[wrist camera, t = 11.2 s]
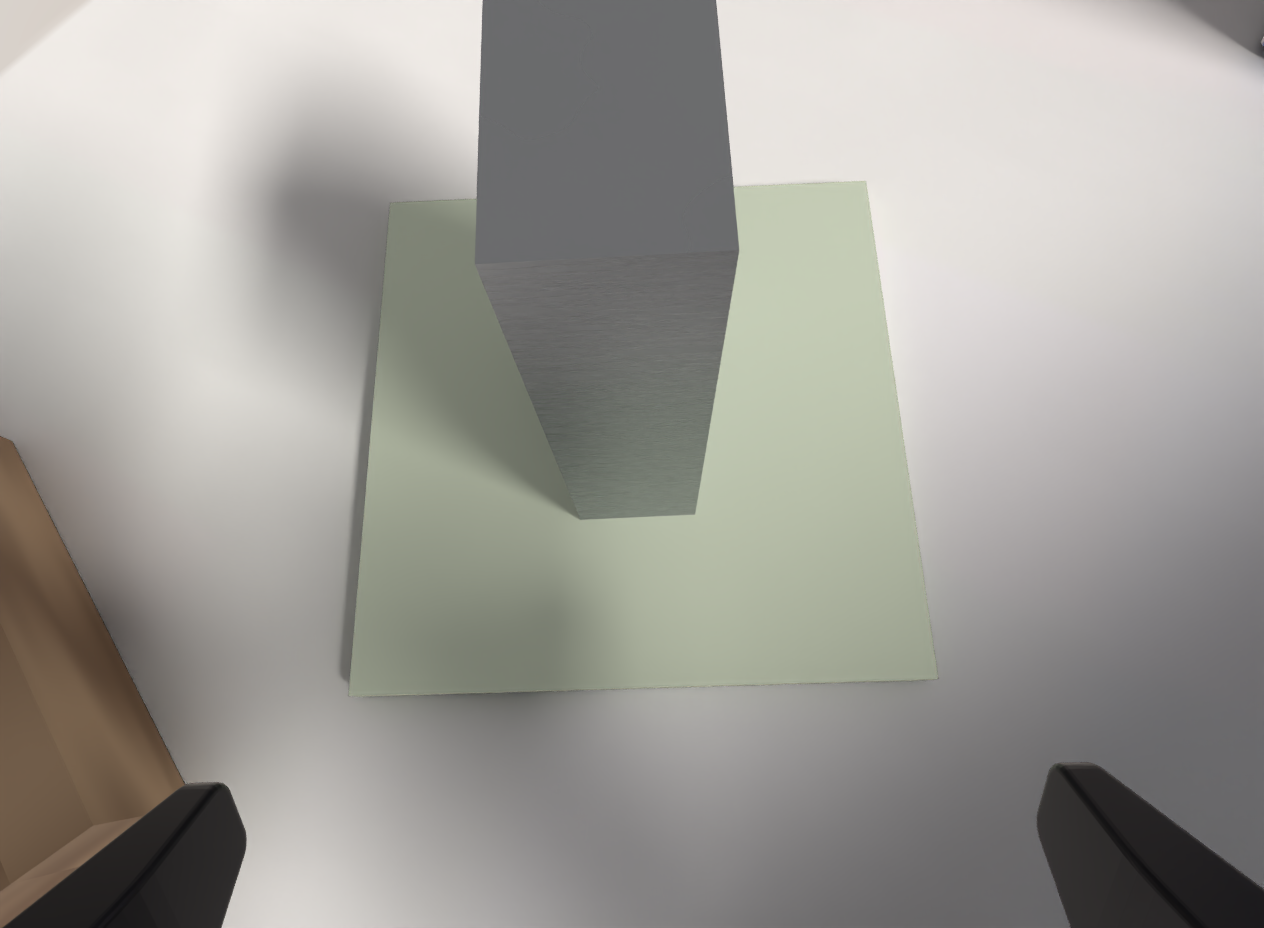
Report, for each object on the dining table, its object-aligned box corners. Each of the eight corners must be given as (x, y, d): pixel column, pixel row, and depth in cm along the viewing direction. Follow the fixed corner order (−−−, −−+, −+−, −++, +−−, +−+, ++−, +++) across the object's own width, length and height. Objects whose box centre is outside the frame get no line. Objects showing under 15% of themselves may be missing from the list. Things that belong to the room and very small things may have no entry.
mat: (928, 680, 16) (938, 679, 15) (359, 696, 16) (348, 696, 16) (859, 196, 20) (866, 180, 19) (397, 217, 20) (390, 202, 20)
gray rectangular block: (695, 514, 17) (739, 249, 7) (580, 519, 17) (474, 264, 7) (681, 310, 18) (703, -128, 9) (577, 315, 18) (486, -114, 9)
